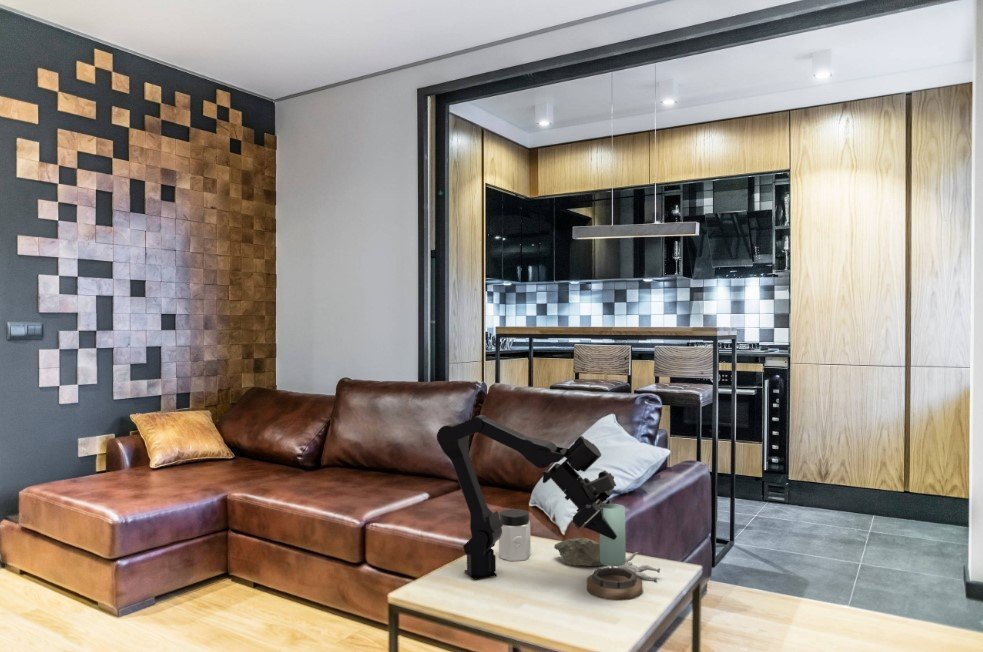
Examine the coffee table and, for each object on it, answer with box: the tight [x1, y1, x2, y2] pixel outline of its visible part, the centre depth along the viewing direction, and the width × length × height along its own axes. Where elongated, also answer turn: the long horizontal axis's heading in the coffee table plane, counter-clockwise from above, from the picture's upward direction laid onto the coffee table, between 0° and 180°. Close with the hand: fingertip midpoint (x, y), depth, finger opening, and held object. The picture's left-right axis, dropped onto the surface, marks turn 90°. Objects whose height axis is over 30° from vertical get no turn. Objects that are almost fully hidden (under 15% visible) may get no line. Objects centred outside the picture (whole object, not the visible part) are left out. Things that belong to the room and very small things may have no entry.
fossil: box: [553, 537, 604, 567], centre depth 177 cm, size 14×10×10 cm
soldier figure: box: [610, 551, 661, 582], centre depth 167 cm, size 8×5×12 cm
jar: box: [498, 508, 532, 562], centre depth 183 cm, size 9×8×12 cm
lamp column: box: [599, 503, 627, 567], centre depth 158 cm, size 6×6×13 cm
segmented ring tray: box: [586, 566, 643, 601], centre depth 158 cm, size 13×13×4 cm
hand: (618, 534), depth 157 cm, fingers closed on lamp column, 6 cm apart
